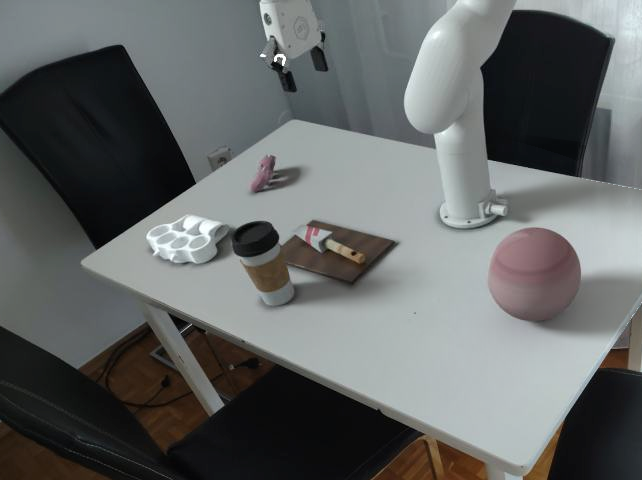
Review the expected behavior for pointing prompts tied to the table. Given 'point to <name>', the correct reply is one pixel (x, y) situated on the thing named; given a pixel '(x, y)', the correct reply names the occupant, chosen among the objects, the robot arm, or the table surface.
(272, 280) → the coffee cup
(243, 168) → the table surface
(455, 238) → the table surface
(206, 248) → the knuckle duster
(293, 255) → the board
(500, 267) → the pink ball
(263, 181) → the video game controller
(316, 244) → the white and tan bar
